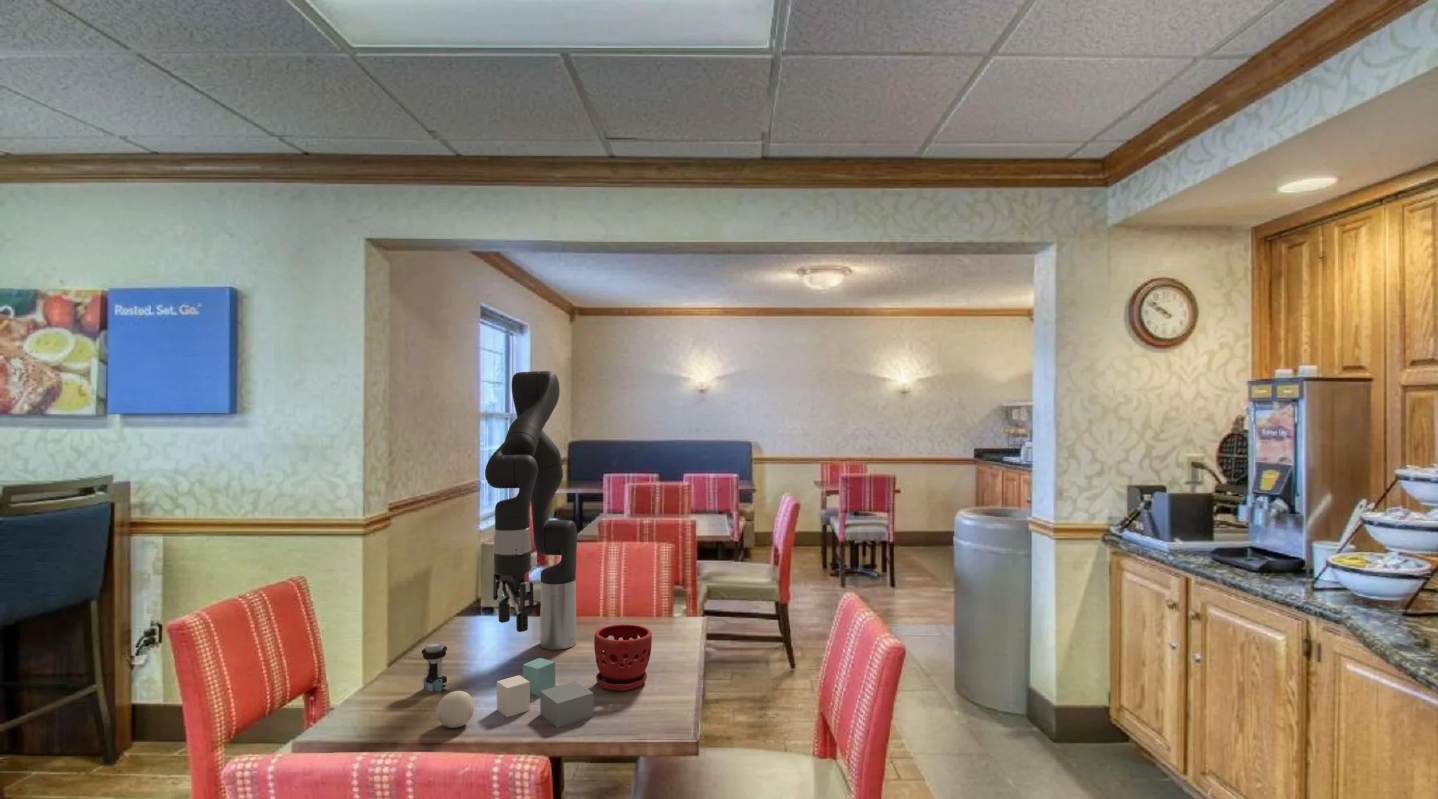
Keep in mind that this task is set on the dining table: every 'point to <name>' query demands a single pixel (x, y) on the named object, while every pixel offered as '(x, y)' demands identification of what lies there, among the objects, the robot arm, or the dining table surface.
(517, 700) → the cream block
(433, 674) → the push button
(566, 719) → the slate base block
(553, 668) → the teal block
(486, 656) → the dining table surface
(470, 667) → the dining table surface
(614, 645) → the plant pot
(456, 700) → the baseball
